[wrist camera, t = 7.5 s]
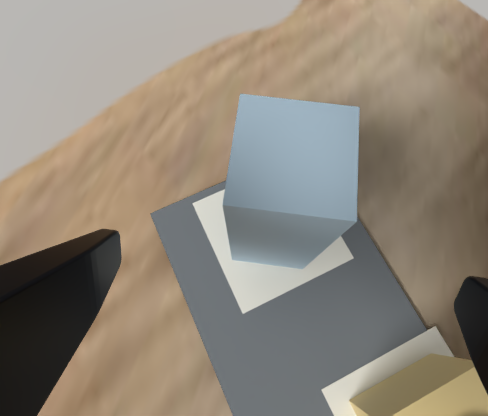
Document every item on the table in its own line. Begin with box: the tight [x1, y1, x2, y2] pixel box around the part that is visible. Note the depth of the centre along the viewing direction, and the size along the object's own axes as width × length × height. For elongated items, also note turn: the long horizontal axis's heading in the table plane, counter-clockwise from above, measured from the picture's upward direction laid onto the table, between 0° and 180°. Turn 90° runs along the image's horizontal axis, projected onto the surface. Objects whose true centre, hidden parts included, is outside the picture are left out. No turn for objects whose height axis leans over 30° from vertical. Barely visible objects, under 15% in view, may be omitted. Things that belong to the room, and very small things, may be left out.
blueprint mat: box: [151, 181, 454, 416], centre depth 18 cm, size 20×12×1 cm, turn 26°
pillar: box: [223, 94, 360, 269], centre depth 15 cm, size 4×4×10 cm
